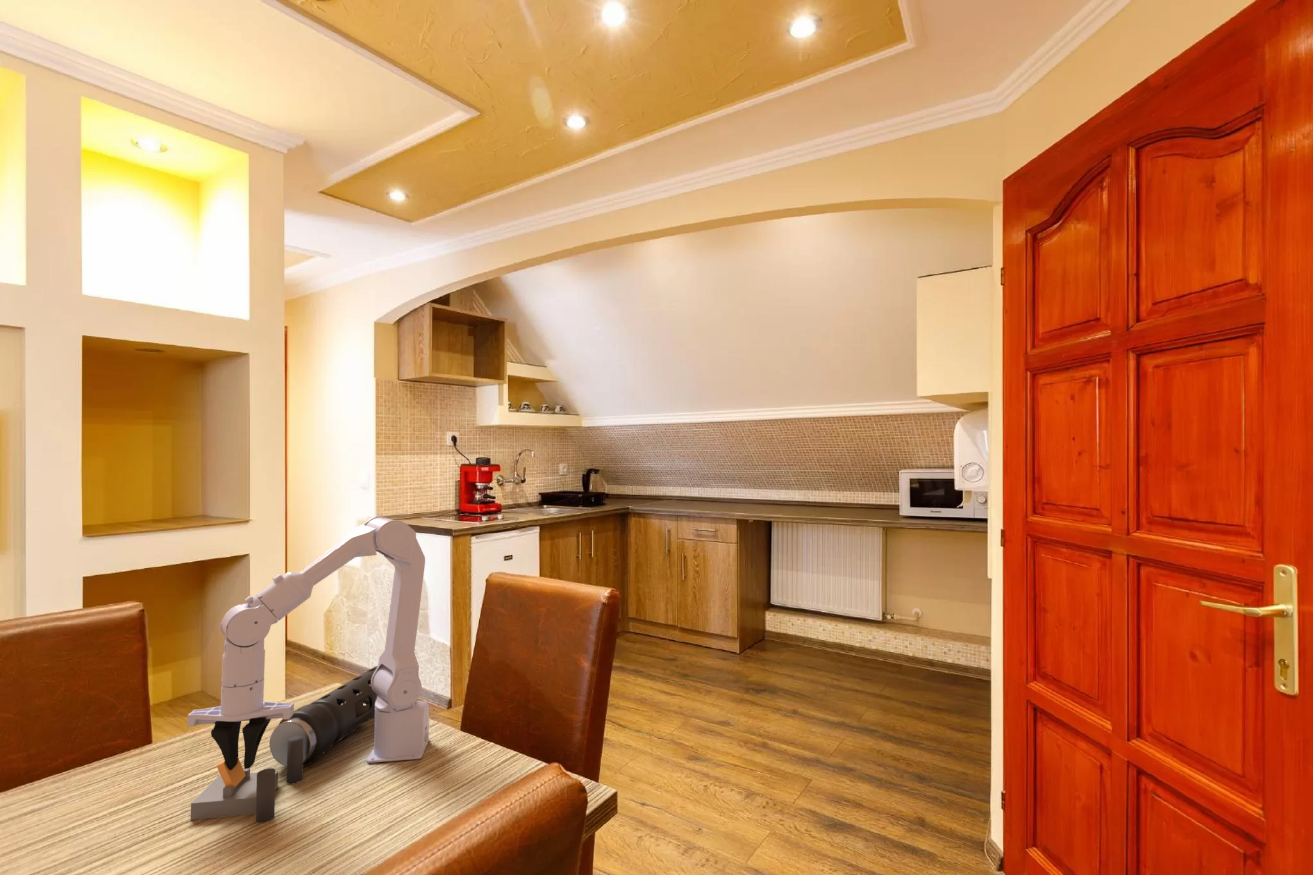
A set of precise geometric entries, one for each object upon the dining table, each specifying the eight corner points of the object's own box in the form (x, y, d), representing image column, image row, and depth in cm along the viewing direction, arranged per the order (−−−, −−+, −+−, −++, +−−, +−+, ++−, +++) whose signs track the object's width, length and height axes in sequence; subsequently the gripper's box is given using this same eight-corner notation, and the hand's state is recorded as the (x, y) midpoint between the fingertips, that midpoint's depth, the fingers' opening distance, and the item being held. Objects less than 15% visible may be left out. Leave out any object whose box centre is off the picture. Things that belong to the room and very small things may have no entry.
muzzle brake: (362, 709, 134) (405, 704, 133) (264, 775, 106) (317, 769, 105) (356, 667, 135) (399, 661, 133) (258, 720, 107) (310, 714, 106)
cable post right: (304, 775, 105) (305, 735, 105) (299, 783, 102) (300, 741, 102) (289, 777, 104) (290, 736, 104) (283, 784, 102) (284, 742, 102)
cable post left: (277, 812, 94) (278, 767, 94) (270, 822, 91) (271, 775, 92) (260, 814, 93) (261, 768, 94) (252, 823, 91) (253, 777, 91)
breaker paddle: (245, 775, 99) (235, 751, 98) (234, 788, 95) (223, 762, 95) (239, 778, 98) (229, 753, 98) (227, 791, 95) (216, 765, 95)
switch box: (277, 785, 101) (278, 763, 101) (255, 813, 93) (256, 789, 94) (218, 791, 100) (219, 767, 100) (190, 819, 92) (191, 794, 92)
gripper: (301, 669, 103) (298, 750, 102) (204, 675, 99) (201, 758, 99) (285, 684, 96) (283, 771, 95) (181, 691, 93) (177, 781, 92)
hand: (240, 766), depth 97 cm, fingers closed
